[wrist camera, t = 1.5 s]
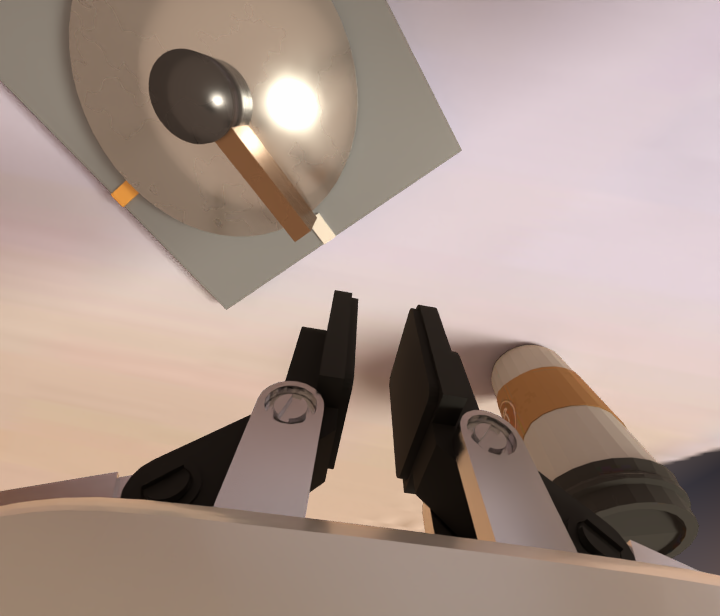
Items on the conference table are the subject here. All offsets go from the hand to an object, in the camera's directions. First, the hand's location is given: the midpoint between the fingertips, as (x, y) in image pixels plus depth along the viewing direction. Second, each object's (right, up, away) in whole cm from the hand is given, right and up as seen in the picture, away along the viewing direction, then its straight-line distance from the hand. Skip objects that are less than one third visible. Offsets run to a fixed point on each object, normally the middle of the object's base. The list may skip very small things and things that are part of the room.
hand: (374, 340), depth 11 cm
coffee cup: (+15, -5, +22) cm, 27 cm away
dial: (-8, +13, +10) cm, 19 cm away
